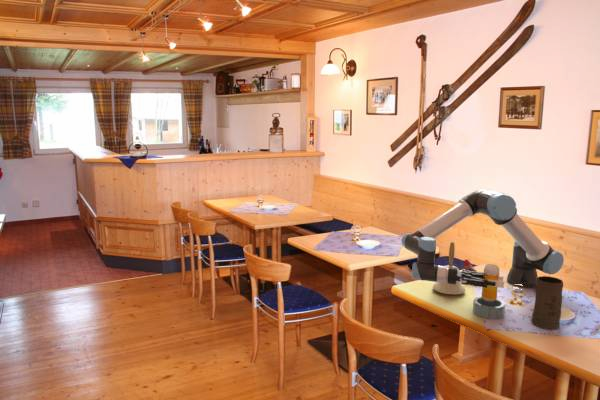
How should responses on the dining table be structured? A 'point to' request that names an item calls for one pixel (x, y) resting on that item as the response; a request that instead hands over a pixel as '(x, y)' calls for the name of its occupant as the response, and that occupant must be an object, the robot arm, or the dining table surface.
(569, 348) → the dining table surface
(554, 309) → the beer stein
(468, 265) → the decorative bird figurine
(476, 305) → the round grey ashtray
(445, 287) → the handbell
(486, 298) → the glass of beer
